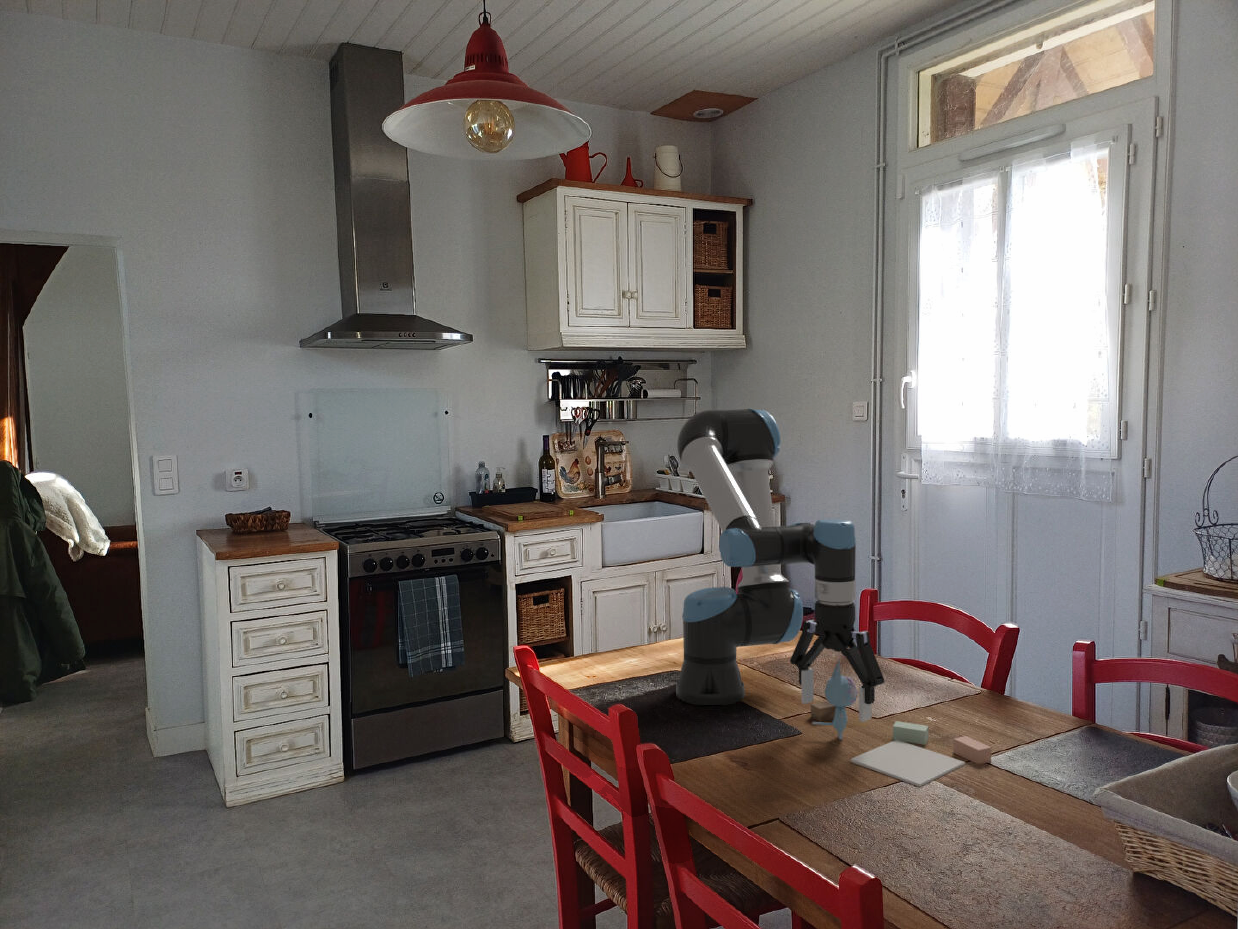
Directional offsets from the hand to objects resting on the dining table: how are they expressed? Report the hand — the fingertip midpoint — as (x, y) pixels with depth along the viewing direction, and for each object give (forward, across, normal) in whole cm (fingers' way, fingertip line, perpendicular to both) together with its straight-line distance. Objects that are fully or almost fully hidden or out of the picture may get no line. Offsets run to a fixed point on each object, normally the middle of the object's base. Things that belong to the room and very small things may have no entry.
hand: (835, 711), depth 172 cm
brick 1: (+6, -8, +8) cm, 13 cm away
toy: (+6, 0, 0) cm, 6 cm away
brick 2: (+6, +10, +10) cm, 15 cm away
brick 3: (+6, +22, +11) cm, 25 cm away
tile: (+6, +16, 0) cm, 17 cm away
